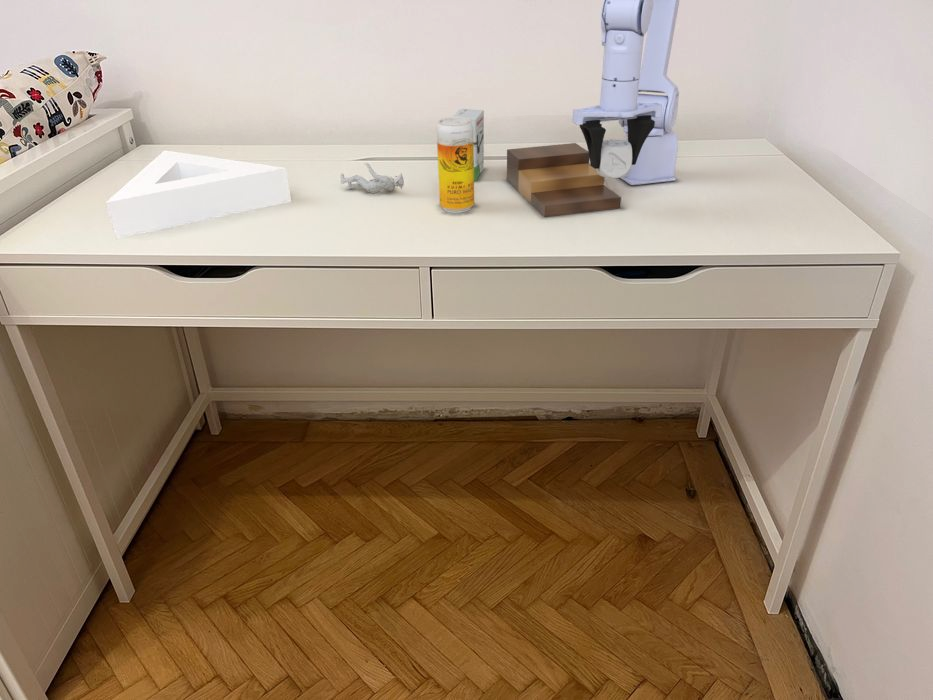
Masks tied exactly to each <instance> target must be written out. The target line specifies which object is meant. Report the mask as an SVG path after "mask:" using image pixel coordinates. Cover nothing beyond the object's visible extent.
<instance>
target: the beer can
mask: <svg viewBox="0 0 933 700" xmlns="http://www.w3.org/2000/svg"><path fill="white" fill-rule="evenodd" d="M436 147H437V169H438V170H437V171H438V194H439V195H438V197H439V205H440V207H441V208H442V210H443V211H445V212H448V213H453V214H459V213H461V214H462V213H465V212H468V211H470V210H471V209H472V207H473V206H474V205H475V180H474V148H473V126H472V124H471V120H470V119H468V118H463V117H453V116H451V117H443V118H441V119H439V120H438V124H437V126H436Z"/></svg>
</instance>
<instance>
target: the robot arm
mask: <svg viewBox="0 0 933 700" xmlns="http://www.w3.org/2000/svg"><path fill="white" fill-rule="evenodd" d="M680 2H681V1H680V0H603V2H602V7H601V12H600V29H601V46H603V58H602V72H601V84H600V85H601V86H600V97H599V105H594V106H589V107H584V108H578V109H572V119H571V122H572V123H573V125H574V124H575V125H576V126H579V129H580V130H581V132H582V135H583V138H584V140H585V144H586V147H587V151H588V152H589V157H590V158H589V163H590V166H592V167H593V168H595V169H599V167H600V162H601V148H602V143H603V141H604V140H605V139H604V138H605V134H606V131H607V129H606V128H605V127H603V124H602V123H603V122H613V121H618V124H619V125H620V127H621V128H623V131H622V132H623V133H625V141H628V142H629V143H630V144H631V147H632V165H631V170H630V172H629V173H628V174H627V175H626V176H624V177H621V178H620V179H621V180H622V181H624V182H625V183H627V184H629V185H630V186H639V185H648V184H657V183H666V182H673V181H674V182H675V181H676V179H677V178H676V177H675V172H676V164H677V157H678V151H679V140H678V136H677V133H675V131H674V130H673V129H674V127H675V125H676V121H677V117H678V111H679V97H680V90H679V87H678V86H677V84H676V83H675V82H673V80H671V78H669V76H668V69H669V64H670V58H671V52H672V47H673V40H674V37H675V36H674V35H675V29H676V24H677V18H678V13H679V8H680V7H679V6H680ZM645 35H646V38H645ZM644 40H645V43H644ZM643 48H644V49H643ZM641 92H643V93H641ZM649 93H651V94H649ZM652 93H656V94H652ZM657 93H658V94H657ZM662 94H663V95H662ZM665 94H666V95H665Z"/></svg>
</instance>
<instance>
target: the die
mask: <svg viewBox="0 0 933 700" xmlns="http://www.w3.org/2000/svg"><path fill="white" fill-rule="evenodd" d="M631 165H632V147H631V144H630V143H629V142H628V141H625V140H624V139H618V138H617V139H616V138H613V139H612V138H610V139H603V143H602V148H601V162H600V167H599V169H596V170H597V173H598V174H599V175H600V176H602V177H605V178H608V179H621V177H624V176H626V175H627V174H628V173H629V172H630V170H631Z"/></svg>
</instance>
